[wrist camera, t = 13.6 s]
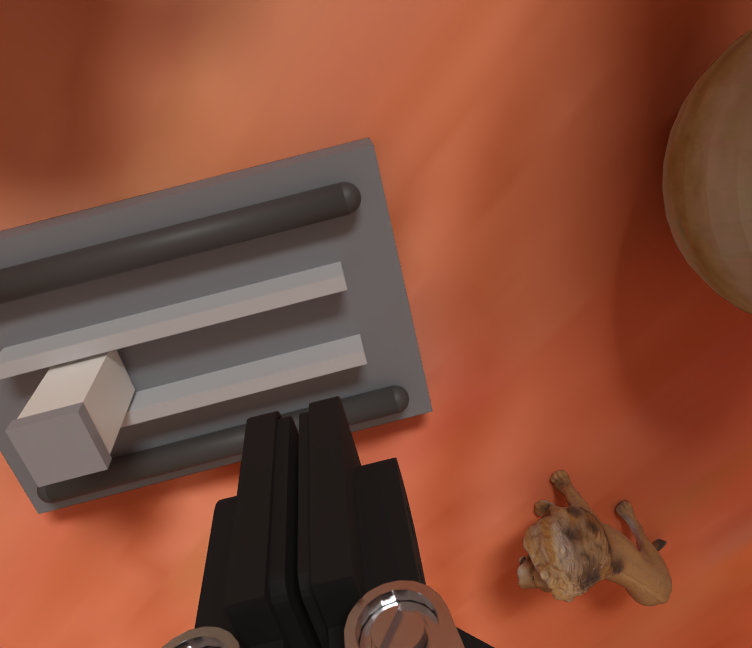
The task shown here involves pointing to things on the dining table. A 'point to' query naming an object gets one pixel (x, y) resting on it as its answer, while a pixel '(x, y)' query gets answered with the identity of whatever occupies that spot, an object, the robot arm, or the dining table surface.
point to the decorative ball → (715, 175)
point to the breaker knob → (73, 418)
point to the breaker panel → (214, 313)
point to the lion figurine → (590, 551)
